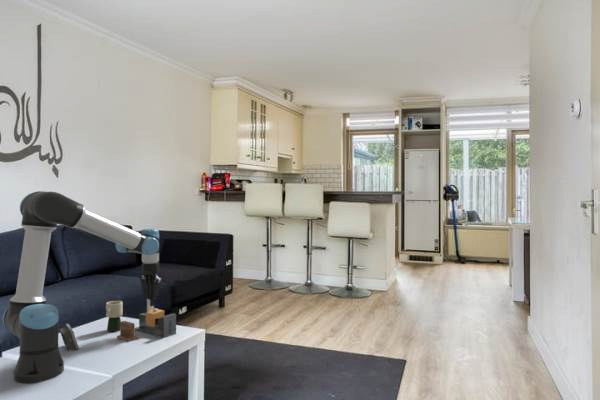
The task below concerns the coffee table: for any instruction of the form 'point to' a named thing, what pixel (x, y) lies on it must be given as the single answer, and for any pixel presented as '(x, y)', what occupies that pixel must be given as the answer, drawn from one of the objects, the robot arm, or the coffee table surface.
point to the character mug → (114, 314)
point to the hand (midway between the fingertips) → (150, 312)
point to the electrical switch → (69, 337)
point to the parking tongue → (127, 331)
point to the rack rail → (158, 325)
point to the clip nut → (153, 316)
